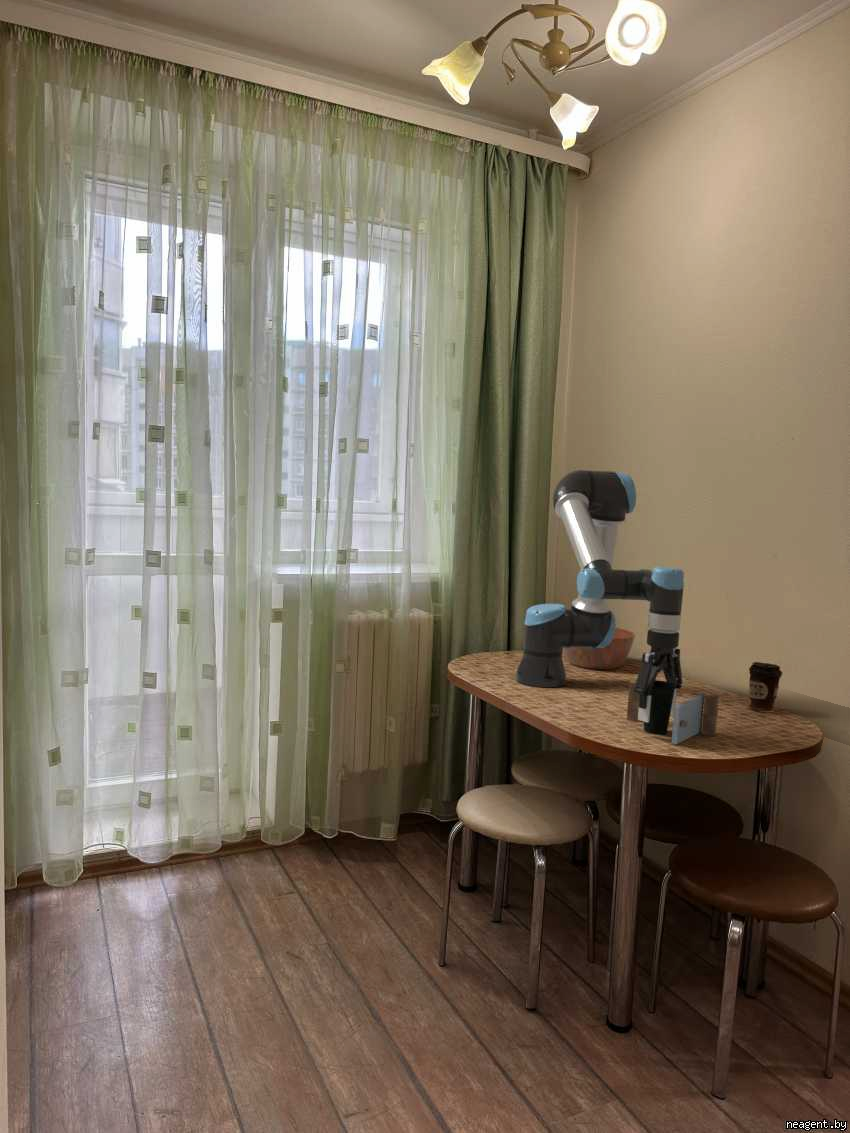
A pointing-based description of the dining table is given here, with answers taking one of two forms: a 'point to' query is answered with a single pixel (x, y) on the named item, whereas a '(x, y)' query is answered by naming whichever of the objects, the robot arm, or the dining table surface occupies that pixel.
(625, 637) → the bowl
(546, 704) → the dining table surface
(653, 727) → the cup
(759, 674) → the coffee cup
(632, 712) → the door frame
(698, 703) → the door
